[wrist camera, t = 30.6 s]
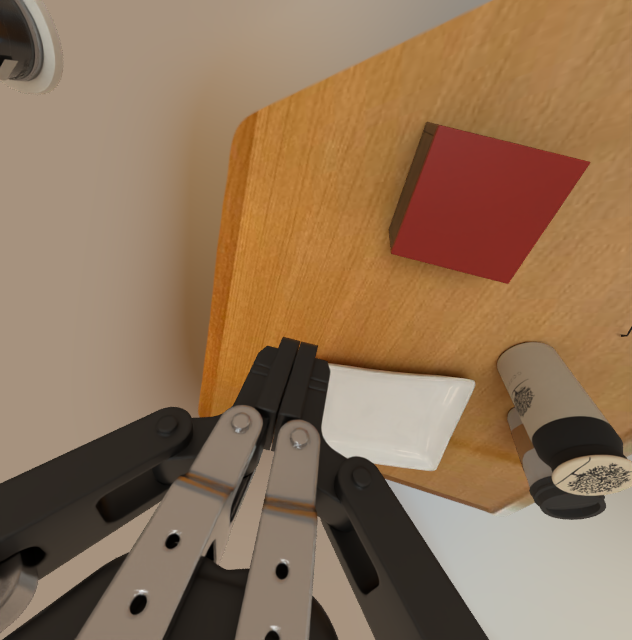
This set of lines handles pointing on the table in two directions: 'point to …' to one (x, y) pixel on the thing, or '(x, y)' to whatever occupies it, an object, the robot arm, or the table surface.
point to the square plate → (392, 415)
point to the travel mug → (564, 422)
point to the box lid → (483, 203)
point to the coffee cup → (549, 480)
